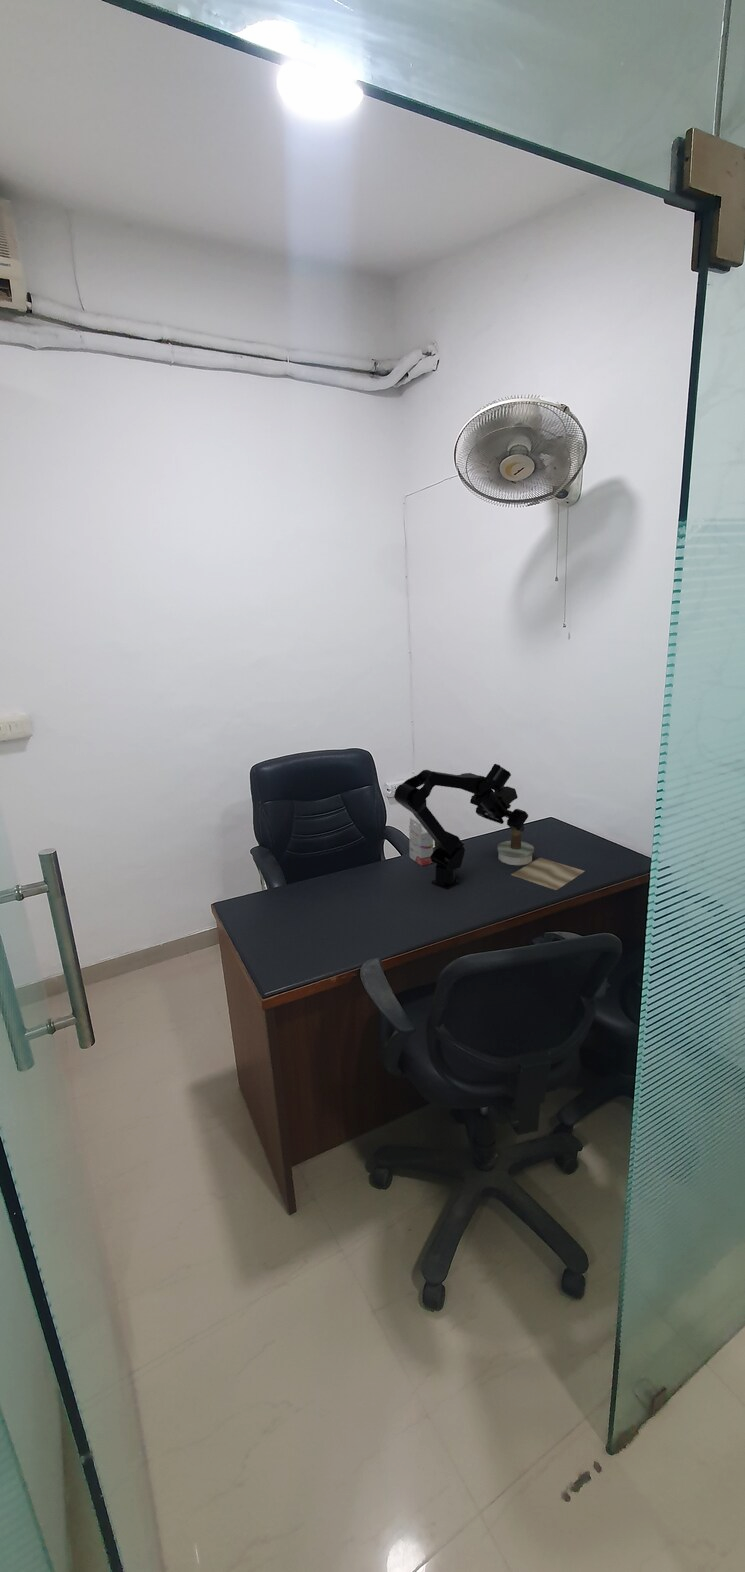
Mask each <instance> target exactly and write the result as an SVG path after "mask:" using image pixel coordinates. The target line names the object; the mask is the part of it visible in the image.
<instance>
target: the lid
mask: <svg viewBox="0 0 745 1572" xmlns="http://www.w3.org/2000/svg"><path fill="white" fill-rule="evenodd" d="M510 832H511V833H510V840H506V841H503V842H500V843H498V845H497V852H498V854H499V853H501V854H503V855H505V856H509V857H518V858H519V857H528V856H530V855H532V856H533V855H534V853H535V847H534V845H532V844H530V843H528V842H526V841H522V833H523V832H521V831H518V830H514V829H512V828H510Z"/></svg>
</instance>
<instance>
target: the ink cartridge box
mask: <svg viewBox="0 0 745 1572" xmlns="http://www.w3.org/2000/svg"><path fill="white" fill-rule="evenodd" d="M408 827H409V828H408V830H409V834H408V835H409V839H408V840H409V858H410V859H411V860H412V861H414V862H416V864H418V865H419V866H421V867H422V866H426V865H427V866H428V865H431V863H432V864H434V862H432V861H431V858H430V856H431V855H432V853H433V852H434V840H433V838H432V837H431V836H430V835H429V833H428V832H427V831H426V829H425V828H424V827H423V826H422V824H421V823H420V822H419V821H418V820H415V819H414V818H412V817H410V818H409V825H408Z"/></svg>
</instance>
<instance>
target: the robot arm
mask: <svg viewBox="0 0 745 1572" xmlns="http://www.w3.org/2000/svg"><path fill="white" fill-rule="evenodd" d="M511 776H512V774H511V772H510V770H509V771H508V770H507V769H506V768H504V767H503V766H501V765H500V764H497V763H494V764H493V766H492V767H491V769H490V771H489V772H488V774H486V776H483V775H478V774H475V773H471V772H466V773H465V772H464V773H460V774H452V773H451V774H450V773H446V772H440V771H432V770H430V769H423V770H421V771H420V772H419V773H418V774H416V775H414V776H412V777H409V778H407V779H406V780H405V781H404V782H402V783H401V784H399V785H398V786H397V787H396V788H395V791H394V795H393V797H394V800H395V801H396V802H397V803H398V804H400V806H402V807H403V808H405V809H406V810H408V811H409V812H411V813H412V815H414V817H415V818H416V819H417V822H418V823H420V824H422V826H423V827H424V828H425V829H426V831H427V832H428V833H429V835H430V836H431V837H432V838H433V842H434V847H435V848H434V850H433V853H432V855H431V856H430V858H431V861H432V862H433V864H436V865H435V879H433V880H432V881H431V883H432V884H434V885H436V886H438V887H440V888H443V889H446V890H448V889H450V888H452V887H454V886H456V885H458V884H460V883H461V881H460V880H459V879H457V869H460V868H461V866H462V863H463V860H464V856H465V852H466V850H465V847H464V846H465V844H464V843H463V842H462V841H461V838H460V837H459V836H458V835H455V834H453V833H451V832H449V831H447V830H445V829H444V827H443V825H441V823H440V822H439V821H438V819H437V818H436V817H435V816H434V813H432V811H431V810H430V809H429V807H428V805H427V798H428V797H430V795H431V792H432V791H433V788H434V787H435V786H436V787H437V786H439V787H445V788H451V789H452V788H454V789H459V790H463V791H466V792H469V793H470V794H473V795H472V796H471V798H470V802H469V803H470V804H472V805H473V806H476V808H475V813H476V814H477V815H478V816H480V817H482V818H483V819H486V820H489V821H492V822H494V823H497V824H501V825H503V824H504V822H505V821H504V819H503V818H507V820H506V825H507V826H508V827H509V828H510V829H511V828H512V829H514V830H518V831H521V832H522V833H523V832H524V831H525V826H524V825H525V822H526V821H527V819H529V814H528V812H526V811H525V810H522V809H520V808H515V809H514V810H513V811H512V810H510V809H511V807H512V805H511V804H512V803H513V802H514V801H515V800H517V799H518V794H517V791H516V789H515V788H513V787H511V786H505V785H506V783H507V782H508V780H509V779H510V778H511ZM418 787H420V788H418Z"/></svg>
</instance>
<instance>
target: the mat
mask: <svg viewBox="0 0 745 1572" xmlns="http://www.w3.org/2000/svg"><path fill="white" fill-rule="evenodd" d="M585 871H586V870H583V869H579V868H576V867H573V866H570V865H566V864H563V863H559V862H558V861H557V862H556V861H553V860H550V859H547V858H543V857H539V858H537V859H535V860H533V861H532V862H530V863H528V864H526V865H525V866H523V867H522V868H520V869H518V870H517V871H515V872H513V873H511V874H510V875H511V876H513V877H516V878H519V879H522V880H525V881H527V882H530V883H534V884H537V885H538V886H539V885H540V886H542V887H545V888H548V889H551V890H555V891H557V890H559V889H560V888H562V887H564V886H565V885H567V884H568V883H570V882H571V881H573V880H574V879H576V878H577V877H579V876H580V875H582V874H583V873H585Z"/></svg>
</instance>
